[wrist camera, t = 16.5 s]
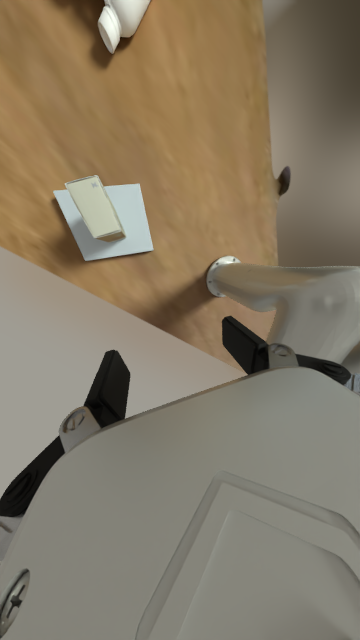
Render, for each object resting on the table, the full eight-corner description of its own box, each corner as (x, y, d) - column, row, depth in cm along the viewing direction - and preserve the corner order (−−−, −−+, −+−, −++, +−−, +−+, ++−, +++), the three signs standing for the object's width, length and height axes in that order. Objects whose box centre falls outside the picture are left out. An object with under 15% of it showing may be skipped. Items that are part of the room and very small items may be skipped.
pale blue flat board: (139, 190, 29) (139, 183, 26) (152, 250, 34) (153, 250, 32) (62, 197, 26) (52, 190, 24) (90, 260, 32) (85, 260, 30)
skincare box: (92, 209, 26) (60, 179, 15) (113, 203, 26) (96, 170, 16) (109, 244, 29) (93, 239, 19) (127, 239, 30) (121, 230, 19)
